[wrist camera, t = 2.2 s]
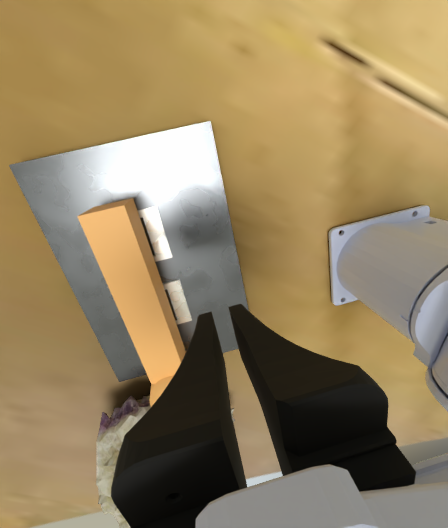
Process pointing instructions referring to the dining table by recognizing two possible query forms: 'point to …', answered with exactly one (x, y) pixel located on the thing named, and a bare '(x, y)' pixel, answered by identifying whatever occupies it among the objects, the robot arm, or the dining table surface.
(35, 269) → the dining table surface
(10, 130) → the dining table surface
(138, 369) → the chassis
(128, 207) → the orange rectangular block
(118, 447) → the geode
